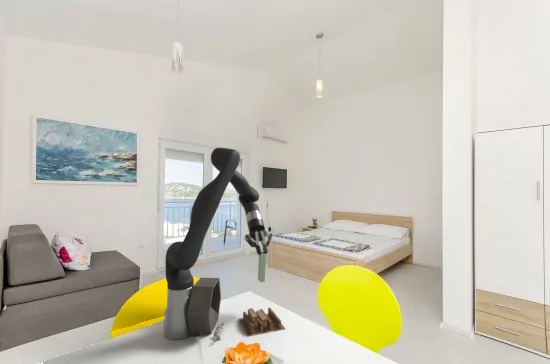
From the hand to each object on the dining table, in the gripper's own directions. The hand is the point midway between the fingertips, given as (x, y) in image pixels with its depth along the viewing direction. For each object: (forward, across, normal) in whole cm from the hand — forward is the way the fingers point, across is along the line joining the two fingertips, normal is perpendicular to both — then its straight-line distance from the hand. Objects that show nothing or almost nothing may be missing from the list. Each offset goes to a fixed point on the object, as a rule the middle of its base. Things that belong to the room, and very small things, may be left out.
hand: (263, 253), depth 115 cm
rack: (+25, -4, +12) cm, 28 cm away
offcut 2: (+24, -4, +11) cm, 27 cm away
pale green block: (+7, 0, +10) cm, 12 cm away
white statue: (+28, -22, +10) cm, 36 cm away
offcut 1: (+24, -7, +11) cm, 27 cm away
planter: (+21, -24, +16) cm, 36 cm away
